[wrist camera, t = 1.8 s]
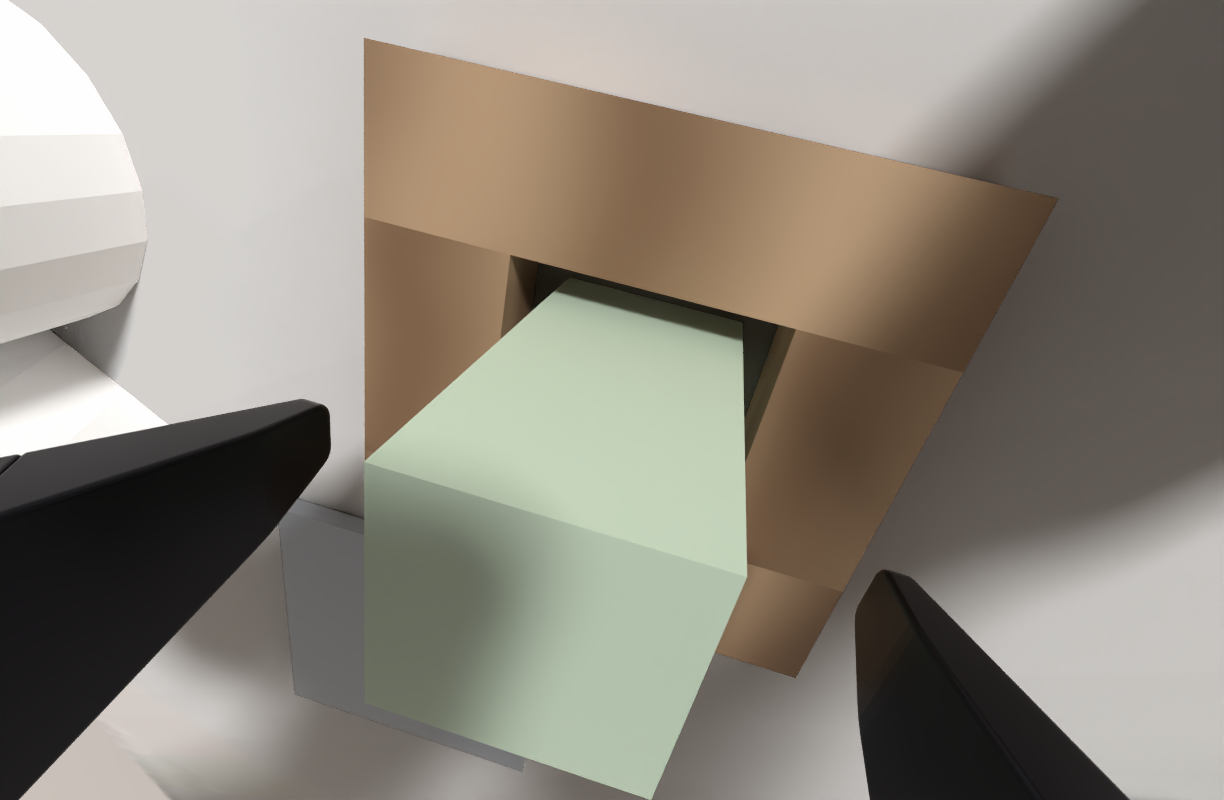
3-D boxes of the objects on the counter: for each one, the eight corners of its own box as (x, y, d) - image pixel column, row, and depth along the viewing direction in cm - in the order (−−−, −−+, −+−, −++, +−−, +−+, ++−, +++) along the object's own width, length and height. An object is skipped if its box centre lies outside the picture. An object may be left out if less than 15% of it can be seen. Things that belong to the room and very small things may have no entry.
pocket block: (1004, 185, 10) (1058, 199, 9) (789, 616, 16) (795, 677, 14) (421, 51, 11) (364, 38, 10) (404, 499, 17) (365, 543, 15)
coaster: (567, 581, 17) (561, 596, 16) (527, 755, 21) (522, 771, 20) (290, 496, 18) (277, 508, 17) (305, 680, 22) (294, 694, 21)
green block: (742, 322, 13) (747, 576, 5) (694, 468, 14) (650, 800, 7) (569, 277, 13) (363, 461, 6) (544, 425, 15) (364, 703, 8)
